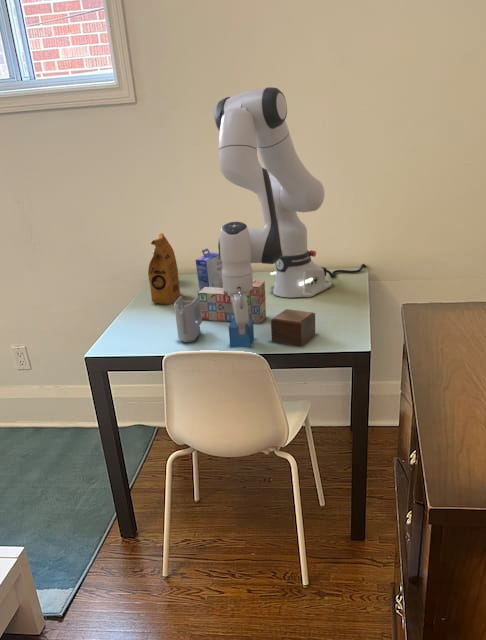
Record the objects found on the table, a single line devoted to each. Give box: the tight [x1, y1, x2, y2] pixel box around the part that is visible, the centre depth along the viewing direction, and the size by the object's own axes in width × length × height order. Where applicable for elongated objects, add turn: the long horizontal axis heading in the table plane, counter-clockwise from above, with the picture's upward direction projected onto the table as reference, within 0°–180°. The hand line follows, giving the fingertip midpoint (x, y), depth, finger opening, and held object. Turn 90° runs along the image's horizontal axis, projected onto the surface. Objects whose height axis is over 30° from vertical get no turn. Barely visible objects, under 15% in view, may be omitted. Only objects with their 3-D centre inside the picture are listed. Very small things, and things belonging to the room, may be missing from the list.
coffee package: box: [147, 232, 181, 305], centre depth 237 cm, size 10×12×22 cm
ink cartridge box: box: [195, 248, 223, 291], centre depth 246 cm, size 10×6×14 cm, turn 148°
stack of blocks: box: [197, 279, 267, 325], centre depth 218 cm, size 21×6×12 cm, turn 71°
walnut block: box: [270, 308, 316, 347], centre depth 202 cm, size 10×10×7 cm
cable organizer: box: [173, 295, 203, 343], centre depth 207 cm, size 7×12×12 cm, turn 168°
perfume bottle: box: [228, 314, 255, 348], centre depth 200 cm, size 6×6×12 cm
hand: (240, 328), depth 200 cm, fingers closed on perfume bottle, 7 cm apart
